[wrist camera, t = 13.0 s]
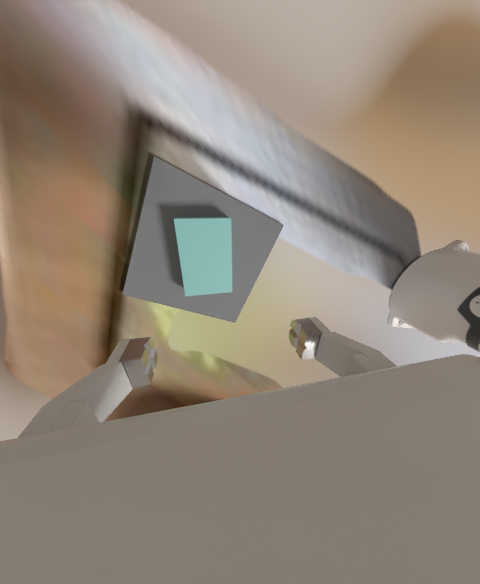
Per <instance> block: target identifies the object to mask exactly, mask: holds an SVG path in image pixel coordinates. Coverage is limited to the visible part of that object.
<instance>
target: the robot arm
mask: <svg viewBox="0 0 480 584" xmlns="http://www.w3.org/2000/svg"><path fill="white" fill-rule="evenodd" d="M389 308H390V314H389V317H388V321H387V323H388V324H389V325H391V326H394V327H406V328H415V329H417V330H419V331H421V332H423V333H425V334H426V335H428V336H430V337H432V338H434V339H436V340H438V341H440V342H450V343H451V342H461V343H467V345H468V346H469V347H471V348H473V349H475V350H477V351H479V352H480V254H479V253H475V252H470V250H469V248H468V245H467V243H466V242H465V241H460V240H456V241H454V242H452V243H451V244H449V245H448V246H446V247H444V248H442V249H439V250H435V251H431V252H429V253H427V254H425V255H423V256H421V257H420V258H418V259H417V260H416V261H415V262H413V263H412V264H411V265H410V266H409V267H408V268H407V269H406V270H405V271H404V272H403V273H402V275H401V276H400V277H399V279H398V280H397V282H396V284H395V285H394V287H393V289H392V292H391V295H390V299H389ZM291 327H292V329H291V330H290V331H289V339H290V342H291V344H292V346H294V347H295V348H297V350H296V352H297V354H298V355H299V357H300V358H301V360H304V359H311V358H315V359H316V360H318V361H319V362H320V363H322V364H323V365H325V366H326V367H328V368H329V369H330V370H332V371H333V372H335V373H336V374H338V375H339V376H341V377H339V378H334V379H329V380H323V381H318V382H313V383H307V384H302V385H297V386H291V387H286V388H281V389H275V390H270V391H265V392H260V393H254V394H249V395H244V396H238V397H233V398H228V399H222V400H217V401H212V402H207V403H201V404H196V405H191V406H185V407H180V408H175V409H169V410H164V411H159V412H154V413H148V414H143V415H138V416H132V417H127V418H122V419H116V420H111V421H106V422H104V421H105V420H106V418H107V417H108V416H109V415H110V414H111V413H112V412H113V411H114V409H115V408H116V407H117V406H118V405H119V404H120V403H121V401H122V400H123V399H124V398H125V397H126V396H127V395H128V394H129V392H130V391H131V390H132V389H133V388H135V387H140V386H145V385H151V382H152V378H153V375H154V372H153V369H154V368H155V367H156V364H157V357H158V356H157V350H156V348H154V347H153V345H154V340H153V338H152V337H145V338H135V339H127V340H121V341H119V343H118V344H117V346H116V348H115V349H114V351H113V353H112V354H111V356H110V357H109V359H108V361H107V362H106V364H102V365H101V366H99V367H98V368H96V369H95V370H94V371H92V372H91V373H89V374H88V375H86V376H85V377H84V378H82V379H81V380H79V381H78V382H76V383H75V384H74V385H72V386H71V387H69V388H68V389H67V390H65V391H64V392H62V393H61V394H59V395H58V396H57V397H55V398H54V399H52V400H51V401H49V402H48V403H47V404H45V405H44V406H43V407H42V408H41V409H40V411H39V412H38V413H37V414H36V416H35V417H34V418H33V419H32V421H31V422H30V423H29V424H28V426H27V427H26V428H25V429H24V431H23V432H22V433H21V434H20V436H19V437H18V438H16V439H11V440H5V441H0V584H480V357H476V356H472V355H466V354H465V355H455V356H450V357H445V358H440V359H435V360H429V361H424V362H419V363H414V364H408V365H403V366H396V365H395V364H394V363H392V362H391V361H390V360H389V359H388V358H387V357H385V356H384V355H383V354H382V353H380V352H379V351H378V350H376V349H373V348H371V347H368V346H366V345H363V344H361V343H359V342H356V341H354V340H352V339H349V338H347V337H345V336H342V335H340V334H337V333H335V332H331V331H330V330H329V329H328V328H327V327H326V326H324V324H323V323H322V322H321V321H320V320H319V319H318V318H316V317H309V318H303V319H296V320H292V321H291Z"/></svg>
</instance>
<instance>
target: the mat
mask: <svg viewBox="0 0 480 584" xmlns="http://www.w3.org/2000/svg"><path fill="white" fill-rule="evenodd" d="M178 217H229V218H231V233H232V292H228V293H217V294H206V295H195V296H185V291H184V284H183V278H182V271H181V264H180V258H179V251H178V244H177V237H176V231H175V224H174V218H178ZM283 226H284V225H283V224H281V223H279V222H277V221H275V220H273V219H271V218H269V217H267V216H266V215H264V214H262V213H260V212H258V211H256V210H254V209H252V208H251V207H249V206H247V205H245V204H243V203H241V202H239V201H237V200H236V199H234V198H232V197H230V196H228V195H226V194H224V193H222V192H221V191H219V190H217V189H215V188H213V187H211V186H209V185H207V184H206V183H204V182H202V181H200V180H198V179H196V178H194V177H192V176H191V175H189V174H187V173H185V172H183V171H181V170H179V169H177V168H176V167H174V166H172V165H170V164H168V163H166V162H164V161H162V160H161V159H159V158H157V157H155V156H154V159H153V163H152V168H151V172H150V176H149V181H148V185H147V189H146V194H145V198H144V203H143V207H142V211H141V216H140V220H139V225H138V229H137V233H136V238H135V242H134V246H133V251H132V255H131V260H130V264H129V268H128V273H127V277H126V282H125V286H124V290H123V295H127V296H131V297H135V298H139V299H143V300H147V301H151V302H155V303H159V304H163V305H167V306H171V307H175V308H179V309H183V310H187V311H191V312H195V313H199V314H203V315H207V316H211V317H215V318H219V319H223V320H227V321H231V322H236V320H237V317H238V316H239V314H240V311H241V310H242V308H243V306H244V304H245V302H246V300H247V298H248V296H249V294H250V292H251V290H252V288H253V286H254V284H255V282H256V280H257V278H258V276H259V274H260V272H261V270H262V268H263V266H264V263H265V262H266V260H267V258H268V256H269V254H270V252H271V250H272V248H273V246H274V244H275V241H276V239H277V238H278V236H279V234H280V232H281V230H282V228H283Z"/></svg>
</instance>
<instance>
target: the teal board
mask: <svg viewBox="0 0 480 584" xmlns="http://www.w3.org/2000/svg"><path fill="white" fill-rule="evenodd" d="M174 224H175V231H176V237H177V244H178V251H179V258H180V264H181V271H182V278H183V284H184V291H185V296H195V295H206V294H217V293H228V292H232V233H231V218H229V217H178V218H174Z"/></svg>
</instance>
